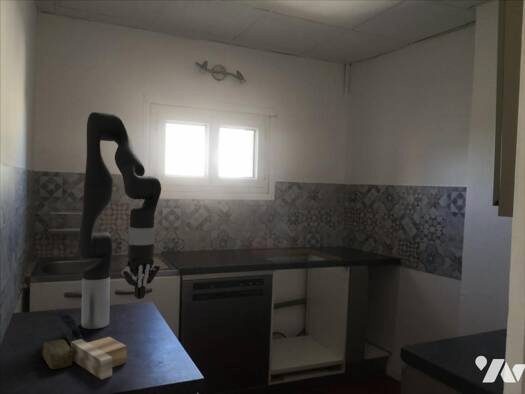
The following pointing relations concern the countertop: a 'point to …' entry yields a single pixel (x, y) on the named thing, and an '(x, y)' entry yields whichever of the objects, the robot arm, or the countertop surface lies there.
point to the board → (91, 359)
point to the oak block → (112, 349)
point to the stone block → (57, 354)
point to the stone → (68, 326)
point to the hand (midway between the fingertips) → (139, 298)
